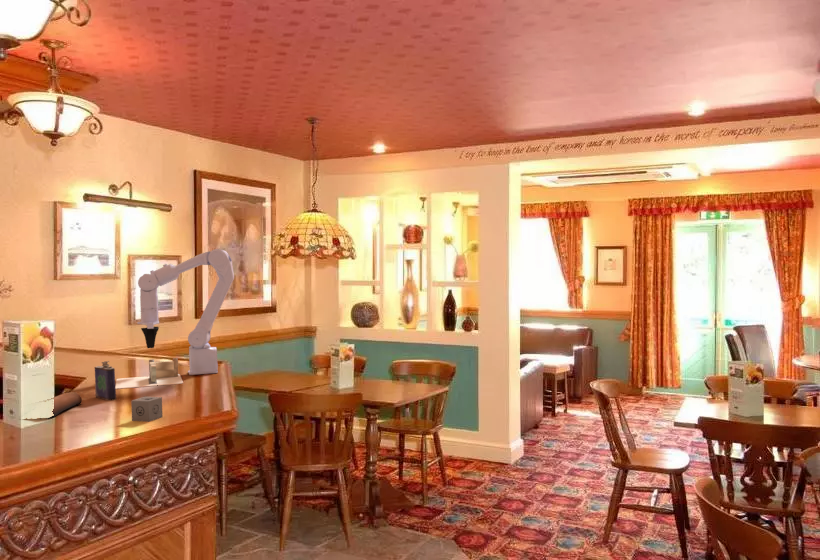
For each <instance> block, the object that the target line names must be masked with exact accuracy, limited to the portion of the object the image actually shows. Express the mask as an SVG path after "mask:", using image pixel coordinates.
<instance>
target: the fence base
mask: <svg viewBox="0 0 820 560" xmlns="http://www.w3.org/2000/svg"><path fill="white" fill-rule="evenodd" d="M178 359H179V358H178V357H173V358H172V360H170V361H159V362H158V361H156V362H155V359H148V365H149V366H148V369H149V370H148V371H149V373H148V374H149V375H148V376H149V378H150V362H154V363H155V365H156V378H163V377H178V374H179V362H178V361H179V360H178ZM150 379H151V378H150Z"/></svg>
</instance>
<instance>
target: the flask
mask: <svg viewBox="0 0 820 560" xmlns="http://www.w3.org/2000/svg"><path fill="white" fill-rule="evenodd" d="M109 363H110V360H107V361H101V364H102V365H101V366H100V365H97V366H94V381H95V388H94V390H95V395H94V396H95V398H96V399H100V400H106V401H115V400H117V394H116V393H117V392H116V390H117V389H116V388H115V386H116V375H115V374H116V373H115V372H116V371H115V370H116V369H115V367H113V366H111V365H110V364H109Z"/></svg>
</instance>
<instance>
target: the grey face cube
mask: <svg viewBox="0 0 820 560" xmlns="http://www.w3.org/2000/svg"><path fill="white" fill-rule="evenodd" d="M130 403H131V421H133V422H144V423H145V422H146V423H149V422H153V421H155V420H159V419H162V418H163V397H161V396H160V397H158V396H143V397H139V398H136V399H131V401H130Z"/></svg>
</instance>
